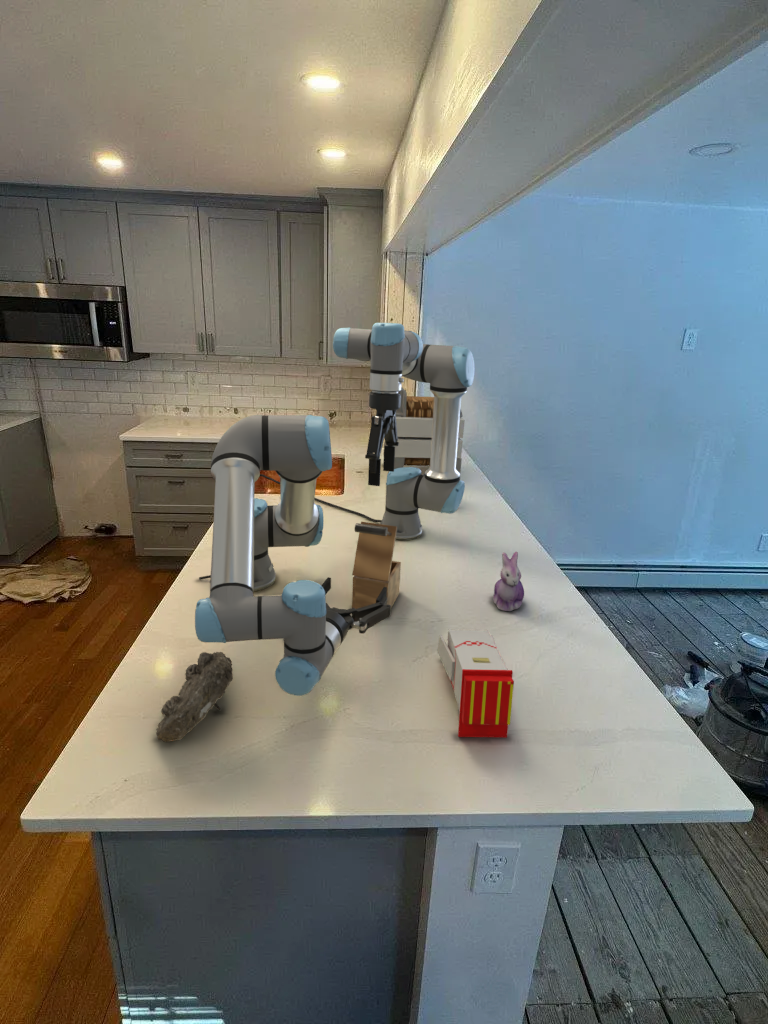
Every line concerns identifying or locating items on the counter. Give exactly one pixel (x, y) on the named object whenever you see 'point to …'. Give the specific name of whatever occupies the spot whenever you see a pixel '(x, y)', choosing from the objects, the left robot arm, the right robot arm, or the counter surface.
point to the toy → (478, 682)
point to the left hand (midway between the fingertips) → (357, 587)
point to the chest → (376, 588)
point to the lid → (374, 550)
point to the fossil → (195, 695)
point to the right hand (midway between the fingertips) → (381, 477)
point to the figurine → (509, 585)
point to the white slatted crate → (418, 432)
